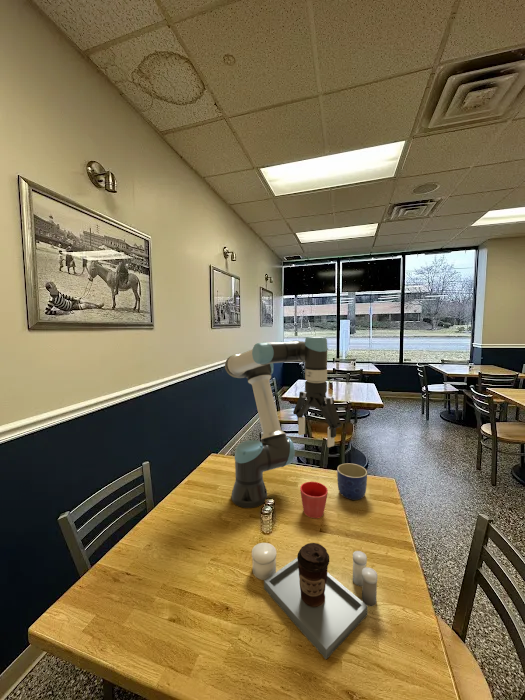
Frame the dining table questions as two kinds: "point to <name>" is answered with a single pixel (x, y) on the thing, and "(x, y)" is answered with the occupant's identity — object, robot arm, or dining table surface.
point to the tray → (317, 608)
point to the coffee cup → (313, 573)
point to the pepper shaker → (369, 586)
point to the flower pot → (313, 499)
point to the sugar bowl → (264, 560)
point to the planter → (352, 480)
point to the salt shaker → (358, 566)
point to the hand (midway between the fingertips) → (315, 440)
